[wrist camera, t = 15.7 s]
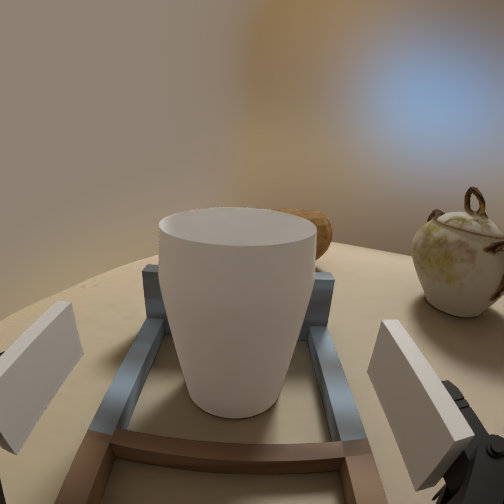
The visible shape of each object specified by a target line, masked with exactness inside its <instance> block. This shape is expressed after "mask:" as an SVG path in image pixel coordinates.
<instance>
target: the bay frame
mask: <svg viewBox="0 0 504 504" xmlns="http://www.w3.org/2000/svg"><path fill="white" fill-rule="evenodd" d="M158 267H159V265H151V264H148V265H147V266H146V267H145V268H144V269H143V271H142V276H143V287H144V297H145V306H146V315H147V318H146V320H145V322H144V324H143V325H142V327H141V329H140V331H139V333H138V334H137V336H136V338H135V340H134V342H133V343H132V345H131V347H130V349H129V351H128V353H127V354H126V356H125V358H124V360H123V362H122V364H121V366H120V368H119V369H118V371H117V373H116V375H115V377H114V379H113V381H112V383H111V385H110V387H109V389H108V390H107V392H106V394H105V396H104V398H103V400H102V402H101V404H100V406H99V408H98V410H97V412H96V414H95V416H94V418H93V420H92V422H91V424H90V426H89V428H88V431H87V433H86V435H85V437H84V439H83V441H82V443H81V445H80V447H79V449H78V452H77V454H76V456H75V458H74V460H73V462H72V465H71V467H70V469H69V471H68V474H67V476H66V478H65V480H64V483H63V485H62V487H61V490H60V492H59V494H58V497H57V499H56V501H55V504H100V501H101V498H102V495H103V492H104V489H105V486H106V483H107V480H108V478H109V475H110V472H111V469H112V466H113V464H114V461H115V458H116V457H118V458H123V459H127V460H132V461H137V462H142V463H147V464H153V465H159V466H165V467H172V468H179V469H187V470H195V471H205V472H218V473H234V474H299V473H315V472H327V471H337V470H339V474H340V478H341V483H342V487H343V492H344V497H345V501H346V504H388V502H387V499H386V496H385V492H384V489H383V486H382V483H381V479H380V476H379V473H378V470H377V467H376V464H375V461H374V457H373V454H372V451H371V448H370V445H369V442H368V439H367V436H366V433H365V430H364V427H363V424H362V421H361V419H360V416H359V413H358V410H357V407H356V404H355V401H354V398H353V396H352V393H351V390H350V387H349V384H348V382H347V379H346V376H345V373H344V371H343V368H342V365H341V362H340V360H339V357H338V354H337V352H336V349H335V346H334V344H333V341H332V338H331V336H330V333H329V330H328V328H327V323H328V317H329V312H330V306H331V300H332V294H333V288H334V281H335V279H334V278H333V276H332V274H331V273H330V272H315V280H314V285H313V290H312V293H311V297H310V300H309V304H308V307H307V311H306V314H305V317H304V321H303V324H302V327H301V330H300V334H299V337H298V340H307V341H308V345H309V349H310V353H311V357H312V361H313V365H314V369H315V373H316V377H317V381H318V385H319V389H320V393H321V397H322V401H323V405H324V409H325V413H326V417H327V422H328V426H329V430H330V434H331V438H332V442H324V443H307V444H236V443H219V442H206V441H196V440H186V439H178V438H170V437H163V436H157V435H150V434H144V433H139V432H133V431H128V430H126V429H127V426H128V423H129V421H130V418H131V416H132V413H133V410H134V408H135V405H136V403H137V400H138V398H139V395H140V393H141V390H142V388H143V385H144V383H145V380H146V378H147V375H148V373H149V371H150V368H151V366H152V363H153V361H154V359H155V356H156V354H157V351H158V349H159V347H160V344H161V342H162V340H163V337H164V335H165V333H167V334H172V333H171V329H170V326H169V322H168V318H167V314H166V310H165V306H164V302H163V297H162V293H161V289H160V284H159V277H158Z"/></svg>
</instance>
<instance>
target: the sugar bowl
mask: <svg viewBox="0 0 504 504" xmlns="http://www.w3.org/2000/svg"><path fill="white" fill-rule="evenodd" d="M472 193H473V194H474V195H475V196H476V197H477V199H478V201H479V205H480V207H479V210H478V211H475V212H474V211H473V210H471V208H470V197H471V194H472ZM464 209H465V210H464V212H451V213H446V214H445V213H443V212H442V211H440V210H433V211H432V213H431V214H430V216H429V218H428V221H427V223H426V224H425V225H423V226H422V227H421V228H420V229H419V230H418V232H417V233H416V235H415V237H414V240H413V244H412V258H413V262H414V266H415V269H416V272H417V275H418V278H419V280H420V283H421V285H422V288H423V290H424V294H425V297H426V300H427V301H428V302H429V303H430V304H431V305H432V306H434V307H435V308H437V309H439V310H441V311H443V312H445V313H448V314H451V315H454V316H458V317H476V316H478V315H480V314H481V313H482V312H483V311H484V310H486V309H487V308H488V307H490V306H491V305H492V304H494V303H495V302H496V301H497V300H498V299H499V298H501V297H502V296H503V295H504V232H503V231H502V229H501V228H500V227H499V226H498V225H496V224H495V223H493V222H492V221H490V220H489V219H488V217H487V215H486V213H485V201H484V198H483V196H482V194H481V193H480V191H479V190H478V188H475V187H470V188H469V189H468V190H467V192H466V195H465V204H464Z"/></svg>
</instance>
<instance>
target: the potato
mask: <svg viewBox="0 0 504 504" xmlns="http://www.w3.org/2000/svg"><path fill="white" fill-rule="evenodd" d="M272 210H274V211H280V212H285V213H289V214H293V215H296V216H299V217H302V218H305V219H307V220H309V221H311V222H312V223H313V224H314V225H315V226H316V228H317V236H316V258H315V260H317V259H319V258H320V257H321V256H322V255H323V254H324V253H325V252H326V251H327V249H328V247H329V245H330V243H331V241H332V228H331V224H330V221H329V219H328V218H327V216H326V215H325V214H323V213H321V212H318V211H314V210H295V209H287V208H281V209H272Z"/></svg>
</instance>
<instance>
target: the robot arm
mask: <svg viewBox="0 0 504 504" xmlns="http://www.w3.org/2000/svg"><path fill="white" fill-rule="evenodd" d="M83 354H84V353H83V349H82V346H81V342H80V338H79V334H78V330H77V326H76V322H75V317H74V313H73V308H72V303H71V302H65V301H57V302H56V303H55V304H53V305H52V306H51V307H50V308H49V309H48V310H47V311H46V312H45V313H44V314H43V315H42V316H41V317H40V318H38V319H37V320H36V321H35V322H34V323H33V324H32V325H31V326H30V327H29V328H28V329H27V330H26V331H25V332H24V333H23V334H22V335H21V336H20V337H19V338H18V339H17V340H16V341H15V342H14V343H13V344H12V345H11V346H10V347H9V348H8V349H7V350H6V351H4V352H2V353H0V446H1V447H2V448H3V449H5V450H7V451H9V452H11V453H13V454H15V455H17V454H18V452H19V451H20V449H21V447H22V446H23V444H24V443H25V441H26V439H27V438H28V436H29V434H30V433H31V431H32V430H33V428H34V426H35V425H36V423H37V422H38V420H39V418H40V417H41V415H42V414H43V412H44V411H45V409H46V408H47V406H48V405H49V403H50V402H51V400H52V399H53V397H54V396H55V394H56V393H57V391H58V390H59V388H60V387H61V385H62V384H63V382H64V381H65V379H66V378H67V376H68V375H69V374H70V372H71V371H72V369H73V368H74V366H75V365H76V364H77V362H78V361H79V359H80V358H81V357H82V355H83ZM367 373H368V375H369V377H370V380H371V382H372V384H373V387H374V389H375V391H376V393H377V396H378V398H379V401H380V403H381V405H382V408H383V410H384V412H385V415H386V417H387V420H388V422H389V424H390V427H391V429H392V432H393V434H394V437H395V439H396V442H397V444H398V447H399V449H400V452H401V455H402V457H403V460H404V462H405V465H406V467H407V470H408V473H409V475H410V478H411V481H412V484H413V486H414V489H415V492H416V491H419V490H423V489H426V488H430V487H433V486H435V485H436V484H437V483H438V482H439V480H440V479H441V478H442V477H443V478H444V480H445V482H446V484H445V485H444V486H443V487H442V488H441V489H440V490H439V491H438V492H437V493H436V495H435V496H434V497H433V499H432V500H435V499H436V498H437V497H438V496H439V497H438V500H437V502H436V504H504V438H502V437H500V436H498V435H492V434H491V435H489V434H488V433H487V431H486V430H485V428H484V427H483V425H482V423H481V422H480V420H479V419H478V417H477V416H476V414H475V413H474V411H473V410H472V408H471V407H469V404H468V402H467V401H466V399H465V400H464V396H463V395H462V393H461V392H460V390H459V389H458V388H457V387H456V386H455V385H453V384H452V383H451V382H450V381H448V380H446V381H440V379H439V378H438V376H437V375H436V373H435V372H434V370H433V369H432V367H431V366H430V364H429V363H428V361H427V360H426V359H425V357H424V356H423V354H422V353H421V351H420V350H419V348H418V347H417V346H416V344H415V343H414V341H413V340H412V339H411V337H410V336H409V334H408V333H407V332H406V330H405V329H404V328H403V326H402V325H401V323H400V322H399V321H398V320H382V321H381V325H380V329H379V333H378V336H377V340H376V343H375V347H374V350H373V354H372V357H371V360H370V364H369V367H368V370H367ZM0 504H6V502H5V498H4V494H3V489H2V485H1V480H0Z"/></svg>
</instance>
